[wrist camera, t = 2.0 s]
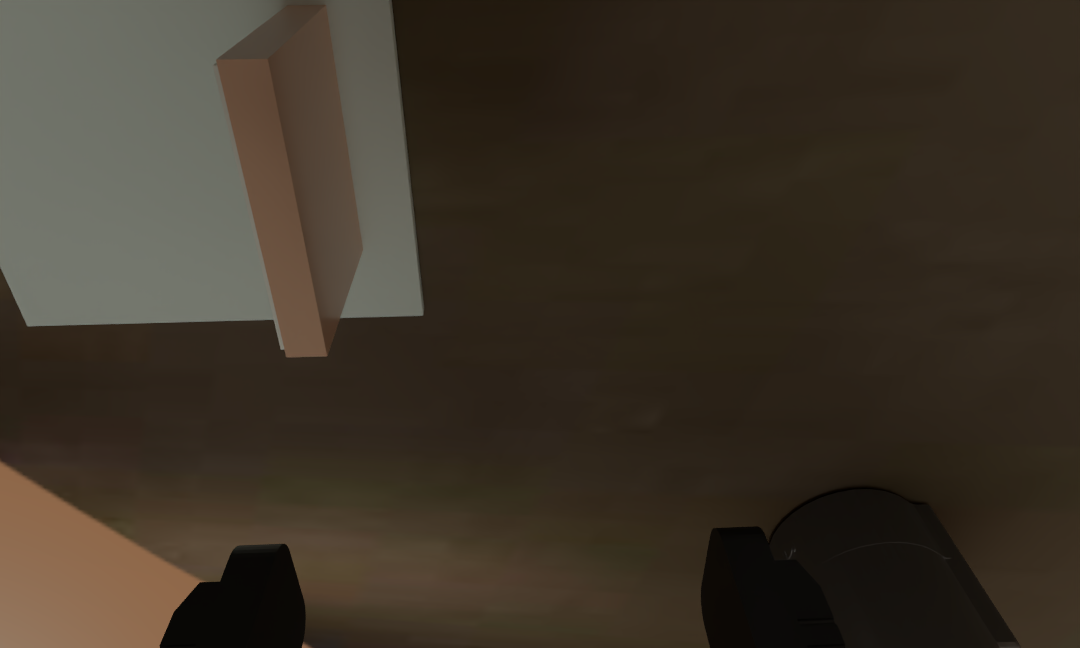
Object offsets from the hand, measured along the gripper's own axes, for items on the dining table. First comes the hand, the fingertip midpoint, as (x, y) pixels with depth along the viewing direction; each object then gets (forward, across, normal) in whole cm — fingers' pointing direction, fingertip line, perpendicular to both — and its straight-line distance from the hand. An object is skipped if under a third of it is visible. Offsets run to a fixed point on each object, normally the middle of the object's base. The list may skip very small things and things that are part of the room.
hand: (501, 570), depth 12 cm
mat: (+22, +13, 0) cm, 25 cm away
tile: (+21, +7, 0) cm, 22 cm away
